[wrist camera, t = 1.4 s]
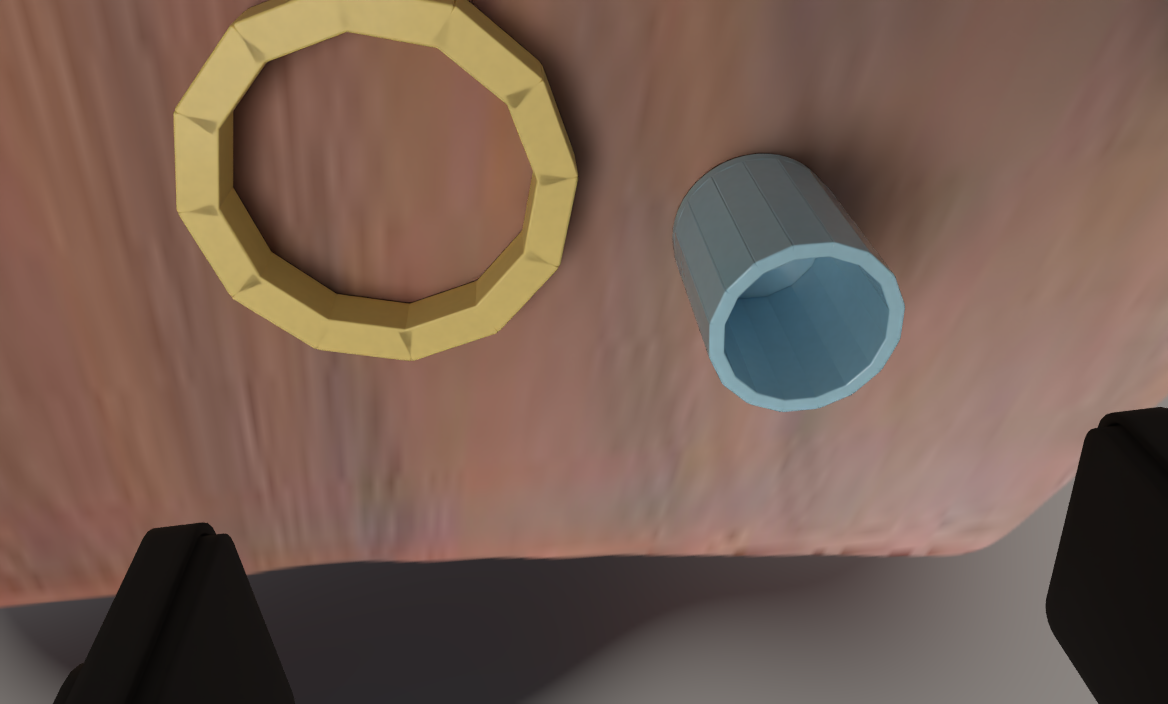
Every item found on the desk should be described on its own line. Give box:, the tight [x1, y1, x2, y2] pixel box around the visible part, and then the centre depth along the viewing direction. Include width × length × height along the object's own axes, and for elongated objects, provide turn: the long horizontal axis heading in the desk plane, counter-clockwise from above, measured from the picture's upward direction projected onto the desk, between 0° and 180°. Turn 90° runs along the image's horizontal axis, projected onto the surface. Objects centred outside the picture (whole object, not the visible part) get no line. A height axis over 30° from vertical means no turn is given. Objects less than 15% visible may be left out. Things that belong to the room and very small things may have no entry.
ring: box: [173, 0, 578, 361], centre depth 32 cm, size 13×13×2 cm
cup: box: [673, 154, 905, 412], centre depth 32 cm, size 6×6×8 cm
